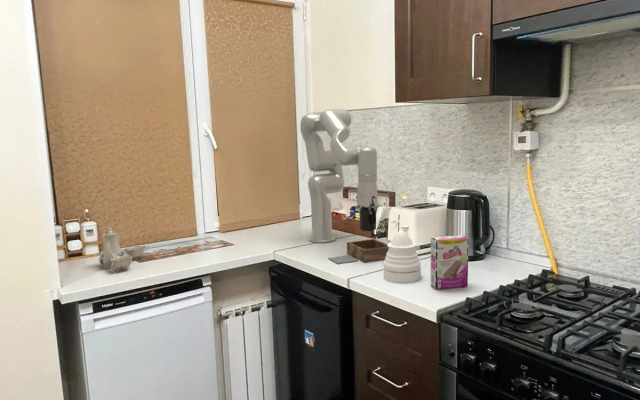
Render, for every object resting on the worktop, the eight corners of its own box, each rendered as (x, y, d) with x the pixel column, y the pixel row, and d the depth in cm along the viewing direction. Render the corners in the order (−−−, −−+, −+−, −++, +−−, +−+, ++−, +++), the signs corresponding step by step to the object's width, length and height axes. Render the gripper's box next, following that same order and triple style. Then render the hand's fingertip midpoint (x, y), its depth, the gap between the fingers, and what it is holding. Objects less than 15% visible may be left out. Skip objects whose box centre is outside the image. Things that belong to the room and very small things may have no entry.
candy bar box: (436, 290, 155) (435, 240, 153) (430, 285, 160) (429, 237, 158) (469, 287, 157) (469, 237, 155) (462, 282, 162) (462, 234, 160)
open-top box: (347, 254, 205) (346, 242, 204) (374, 250, 210) (374, 238, 209) (364, 262, 190) (364, 250, 190) (393, 258, 195) (393, 246, 195)
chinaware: (133, 277, 190) (134, 235, 188) (88, 276, 187) (88, 234, 185) (147, 259, 217) (147, 222, 215) (107, 258, 214) (108, 221, 212)
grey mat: (328, 259, 198) (328, 257, 198) (348, 256, 202) (348, 255, 202) (337, 264, 190) (337, 263, 190) (358, 261, 193) (358, 260, 193)
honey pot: (400, 270, 179) (400, 222, 177) (428, 277, 169) (428, 226, 167) (376, 277, 171) (374, 227, 169) (403, 285, 161) (402, 232, 159)
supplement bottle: (375, 231, 195) (375, 202, 193) (358, 231, 197) (358, 201, 195) (377, 227, 202) (376, 199, 200) (360, 227, 203) (360, 199, 201)
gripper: (349, 177, 202) (350, 219, 205) (369, 181, 187) (369, 226, 189) (365, 175, 205) (366, 217, 208) (386, 180, 189) (386, 224, 192)
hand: (367, 221), depth 199 cm, fingers closed on supplement bottle, 6 cm apart
